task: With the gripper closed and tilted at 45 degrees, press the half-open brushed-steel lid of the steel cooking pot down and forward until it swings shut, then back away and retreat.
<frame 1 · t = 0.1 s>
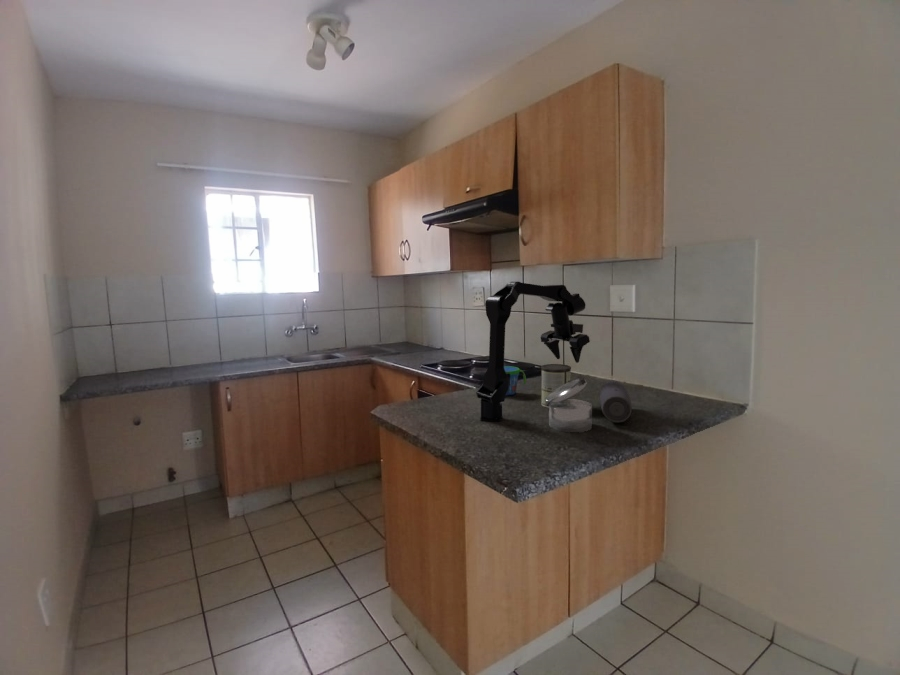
hand: (567, 360, 159), 15 cm above the countertop, tool pointing down, fingers open, 9 cm apart
cooker pot: (569, 425, 135), on the countertop
bluetooth speaker: (614, 416, 144), on the countertop
snack cup: (506, 394, 176), on the countertop
cooker lid: (564, 390, 134), point 11 cm above the countertop, hinge at 30.0°
coffee can: (555, 405, 158), on the countertop
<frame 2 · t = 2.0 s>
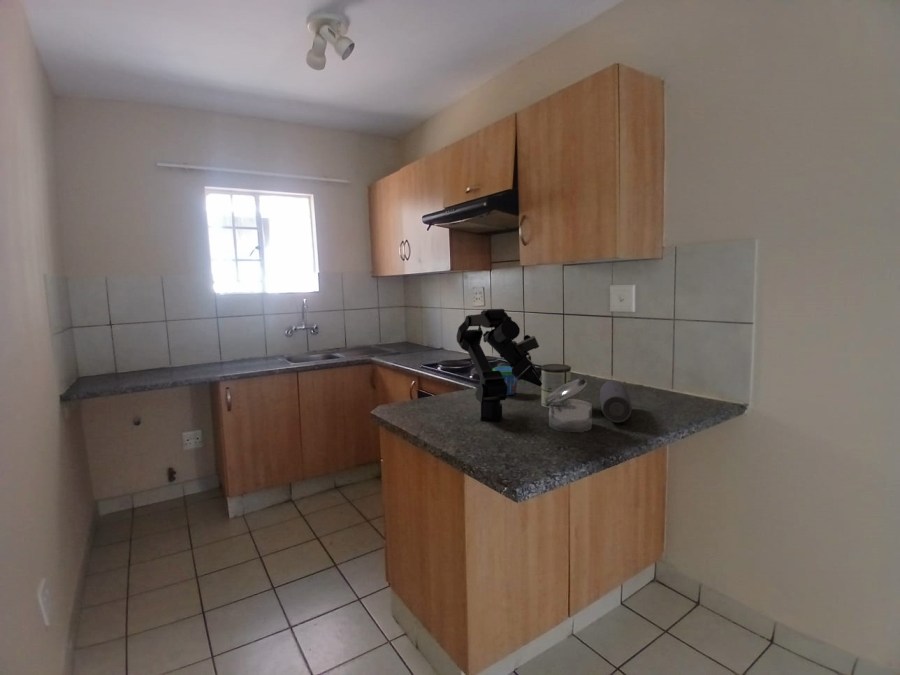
hand: (540, 381, 135), 14 cm above the countertop, tool tilted 45°, fingers open, 9 cm apart
nothing on the countertop moved.
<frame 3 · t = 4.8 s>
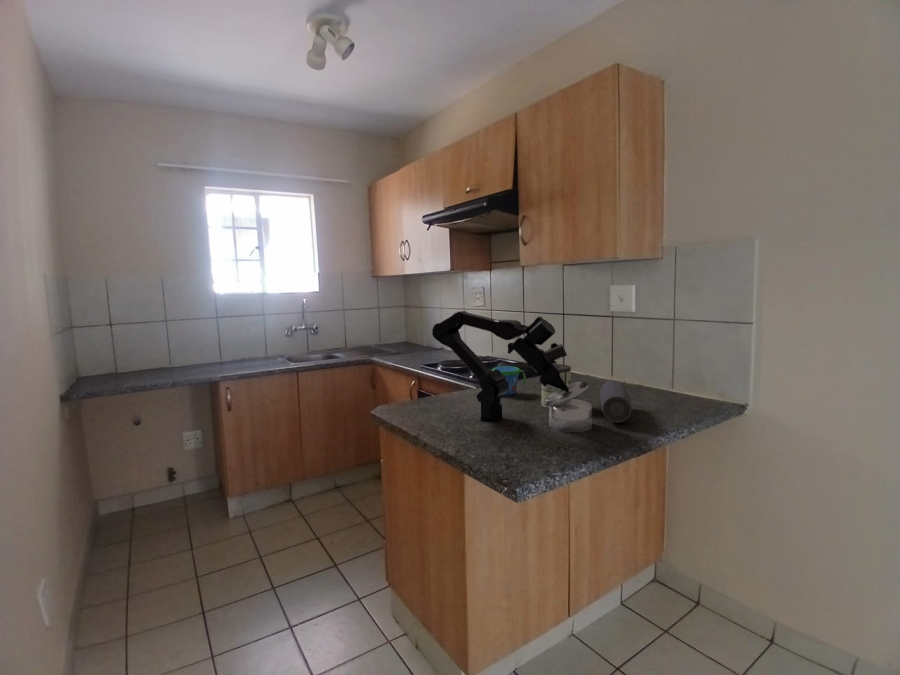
hand: (567, 390, 134), 11 cm above the countertop, tool tilted 45°, fingers closed, pressing on cooker lid
cooker lid: (565, 391, 134), point 11 cm above the countertop, hinge at 25.2°, touching gripper
everything else where it was.
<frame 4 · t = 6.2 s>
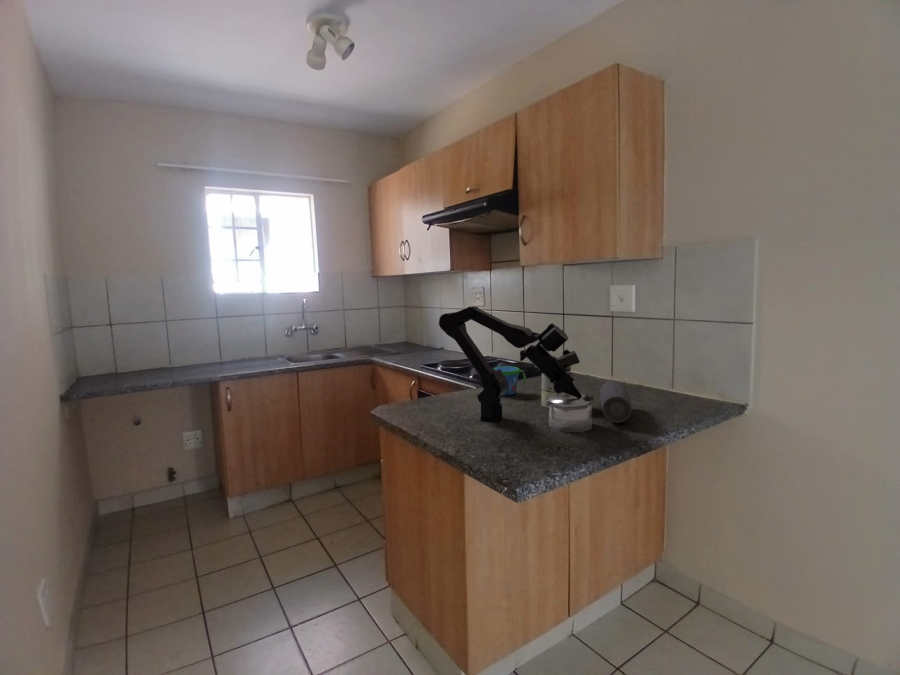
hand: (580, 397, 133), 9 cm above the countertop, tool tilted 45°, fingers closed, pressing on cooker lid
cooker lid: (569, 398, 134), point 9 cm above the countertop, hinge at 3.7°, touching gripper
everything else where it was.
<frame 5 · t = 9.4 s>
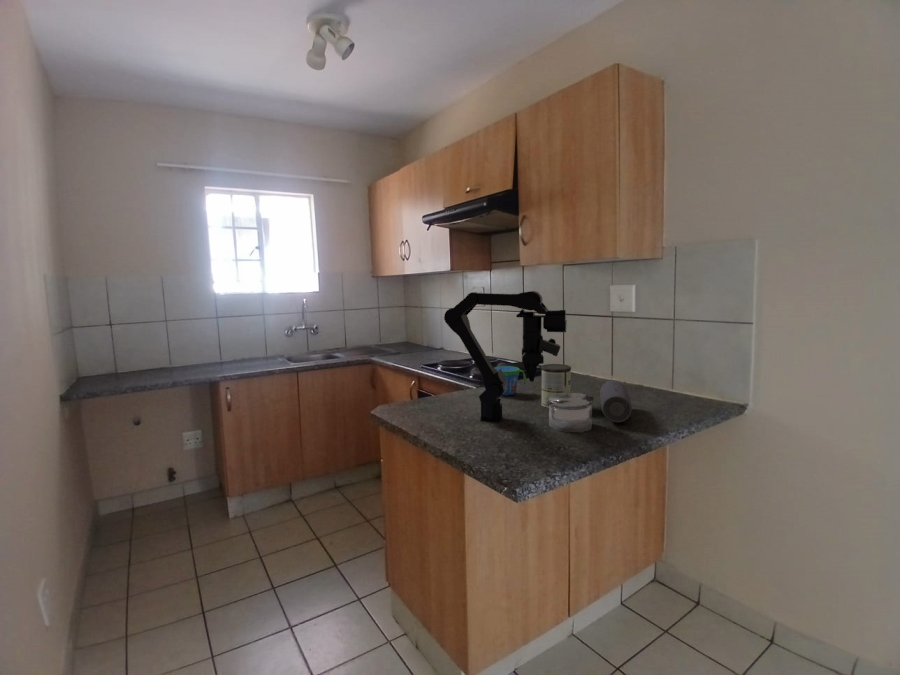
hand: (531, 381, 138), 13 cm above the countertop, tool pointing down, fingers closed
cooker lid: (569, 398, 134), point 9 cm above the countertop, hinge at 3.7°
everything else where it was.
at the end: cooker lid at +4° (first picture: +30°) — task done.
